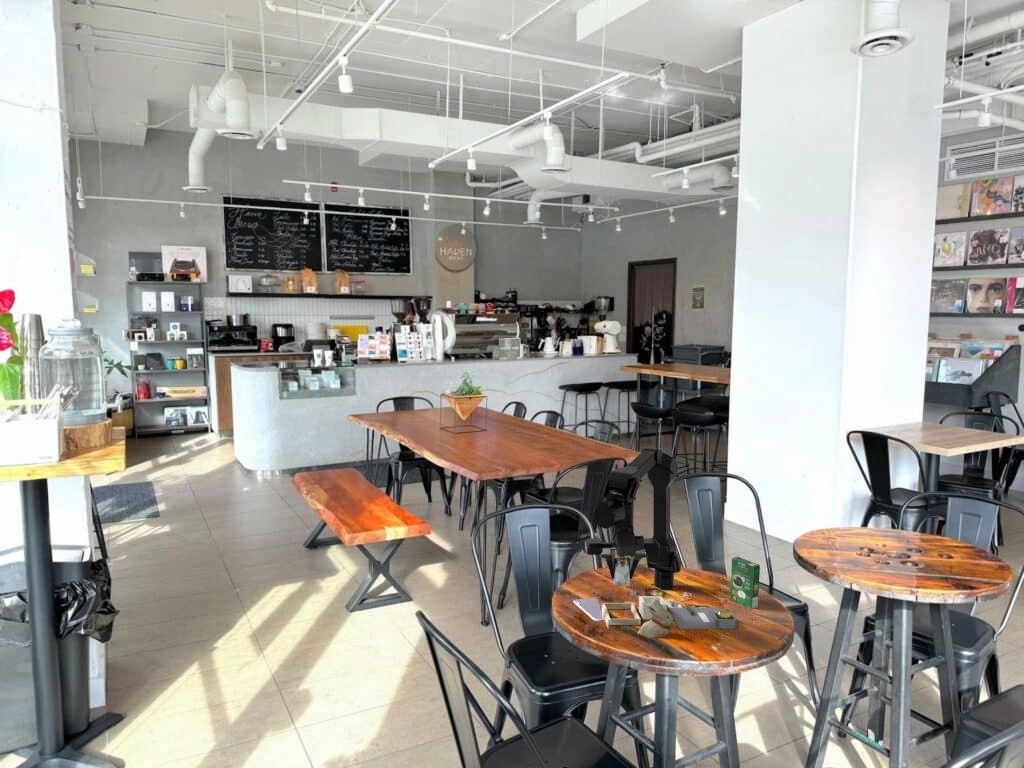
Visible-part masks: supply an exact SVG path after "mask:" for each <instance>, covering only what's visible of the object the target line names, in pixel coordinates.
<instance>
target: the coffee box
mask: <svg viewBox="0 0 1024 768" xmlns="http://www.w3.org/2000/svg"><path fill="white" fill-rule="evenodd" d="M760 570H761V565H760V564H758V563H755V562H753V561H751V560H748V559H745V558H743V557H740V556H735V557H731V571H730V573H731V574H730V575H731V576H730V596H729V597H730V598H729V599H730V600H731V601H732V602H735V603H737V604H739V605H742V606H743V607H745V608H747V609H751V610H752V609H756V608H759V593H760V591H759V590H760V573H761V571H760Z"/></svg>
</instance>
